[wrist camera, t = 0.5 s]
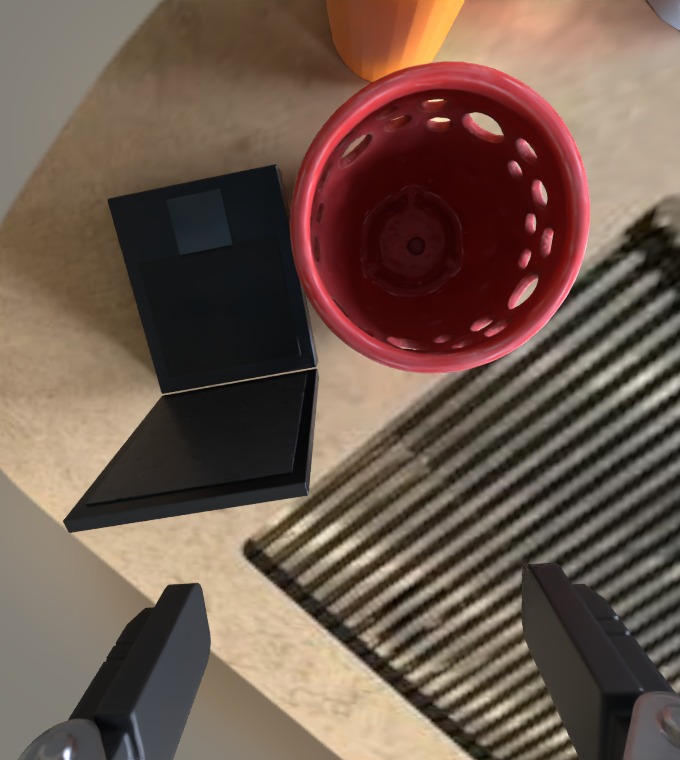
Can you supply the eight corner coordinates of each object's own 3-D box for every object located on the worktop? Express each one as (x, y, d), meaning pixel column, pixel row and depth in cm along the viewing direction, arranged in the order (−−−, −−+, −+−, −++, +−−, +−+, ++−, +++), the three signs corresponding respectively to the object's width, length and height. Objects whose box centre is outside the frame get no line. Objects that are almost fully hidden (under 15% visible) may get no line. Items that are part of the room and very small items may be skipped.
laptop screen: (61, 519, 21) (68, 533, 21) (304, 480, 20) (308, 495, 20) (161, 394, 33) (165, 404, 33) (316, 367, 32) (319, 377, 32)
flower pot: (546, 250, 32) (659, 241, 20) (395, 375, 34) (417, 433, 22) (423, 87, 29) (469, -29, 18) (270, 233, 32) (223, 214, 20)
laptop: (120, 202, 32) (105, 198, 30) (280, 169, 31) (275, 163, 29) (171, 387, 34) (160, 394, 33) (318, 361, 34) (316, 367, 32)
